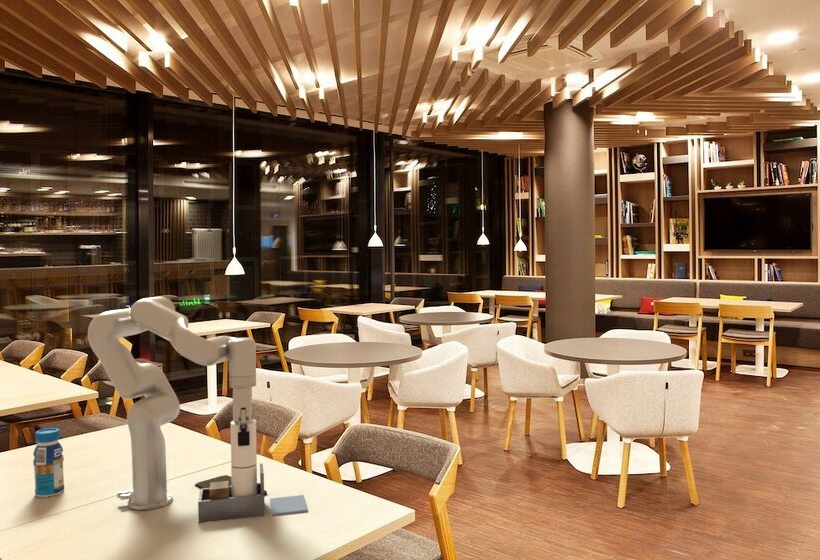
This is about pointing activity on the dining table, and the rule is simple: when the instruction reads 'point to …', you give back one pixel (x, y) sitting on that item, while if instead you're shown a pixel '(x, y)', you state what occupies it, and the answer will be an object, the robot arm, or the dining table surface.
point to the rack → (231, 504)
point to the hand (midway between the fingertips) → (243, 441)
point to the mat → (288, 505)
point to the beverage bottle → (48, 463)
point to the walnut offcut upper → (219, 490)
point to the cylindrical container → (243, 462)
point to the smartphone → (218, 479)
